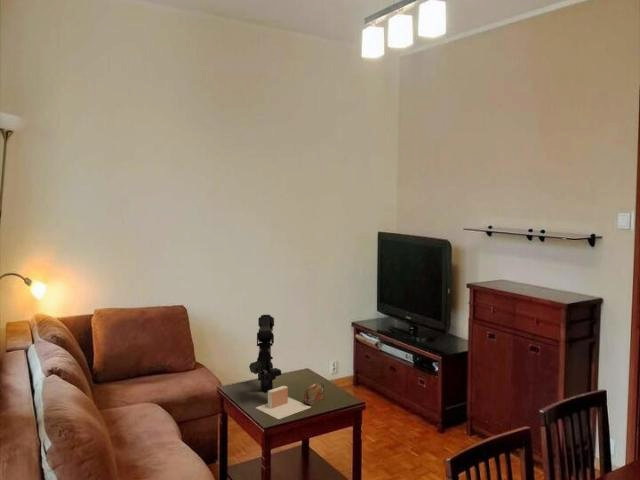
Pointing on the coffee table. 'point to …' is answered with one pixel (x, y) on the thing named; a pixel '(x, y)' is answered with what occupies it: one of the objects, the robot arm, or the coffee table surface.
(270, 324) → the robot arm
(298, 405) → the felt mat
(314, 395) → the tin
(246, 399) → the coffee table surface
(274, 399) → the tile
